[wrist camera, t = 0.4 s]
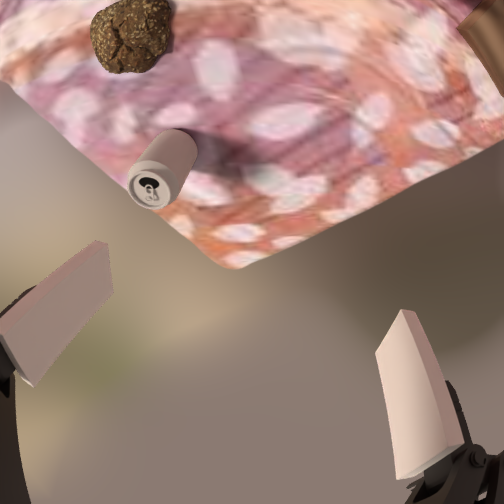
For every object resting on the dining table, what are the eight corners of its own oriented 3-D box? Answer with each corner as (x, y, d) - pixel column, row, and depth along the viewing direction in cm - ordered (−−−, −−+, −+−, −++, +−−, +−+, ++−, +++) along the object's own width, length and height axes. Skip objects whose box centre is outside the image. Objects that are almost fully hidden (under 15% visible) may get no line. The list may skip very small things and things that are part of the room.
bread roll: (94, 9, 21) (74, 12, 17) (171, -12, 20) (156, -15, 17) (102, 79, 30) (84, 89, 27) (174, 68, 30) (161, 75, 27)
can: (199, 128, 37) (174, 170, 29) (198, 169, 43) (177, 218, 35) (153, 125, 37) (117, 165, 29) (156, 164, 42) (127, 211, 35)
